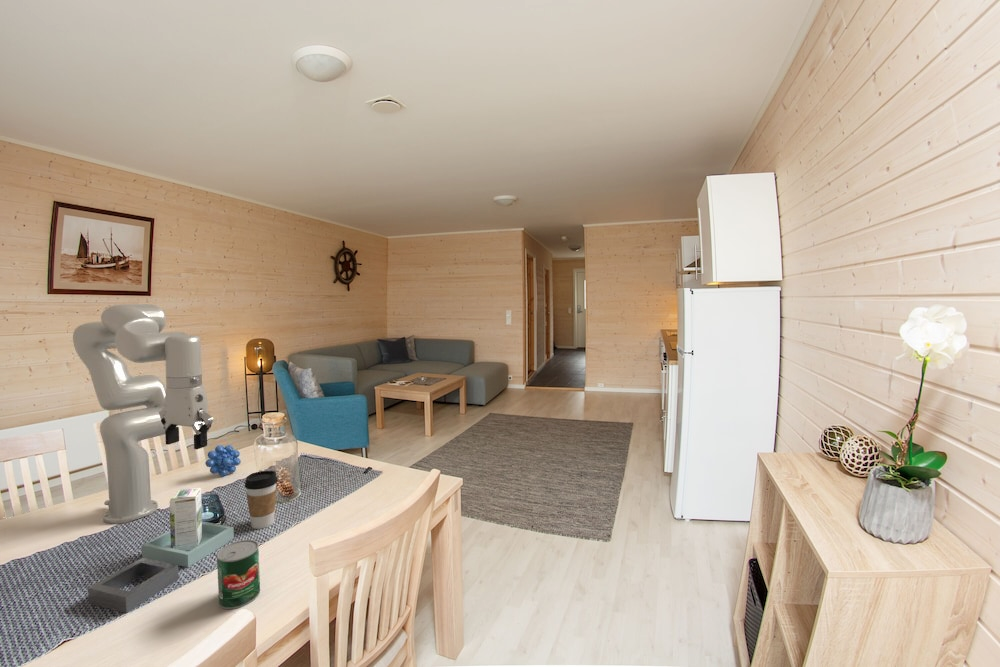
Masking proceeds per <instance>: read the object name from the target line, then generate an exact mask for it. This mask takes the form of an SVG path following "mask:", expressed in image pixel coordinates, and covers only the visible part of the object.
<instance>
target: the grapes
mask: <svg viewBox="0 0 1000 667" xmlns="http://www.w3.org/2000/svg"><path fill="white" fill-rule="evenodd" d="M207 457H208V459H206V460H205V465H206V467H207V468H209V472H210V473H211V474H212V475H216V474H217V475H219V476H220V477H225V476H227V475H228V473H230V474H231V473H232V474H233V473H235V472H236V471H237V466H240V465H241V462H242V461H241V458H239V457H240V452H239V450H238V449H236V450H234V447H233V445H232V444H231V445H230V444H229V445H225V446H223V445H217V446H216V447H215V448H214V450H211V451H209V452H208V453H207Z"/></svg>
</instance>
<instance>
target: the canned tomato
mask: <svg viewBox="0 0 1000 667" xmlns="http://www.w3.org/2000/svg"><path fill="white" fill-rule="evenodd" d="M259 547H260V546H259V542H258V541H256V540H253V539H244V540H238V541H234V542H231V543H229V544H227V545H225V546H222V547H221V549H219V550H218V552H217V554H216V565H217V566H216V567H217V585H218V586H217V587H218V588H217V589H218V590H217V591H218V605H219V607H220V608H222V609H224V610H235V609H239V608H242V607H244V606H246V605H248V604H250V603H252V602H253V601H255V600H256V599H257V598H258V597H259V595H260V593H261V586H260V585H261V582H260V580H261V578H260V576H261V575H260V554H259V553H260V552H259V550H260V549H259Z"/></svg>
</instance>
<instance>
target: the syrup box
mask: <svg viewBox="0 0 1000 667" xmlns="http://www.w3.org/2000/svg"><path fill="white" fill-rule="evenodd" d="M202 510H203V504H202V488H201V487H193V488H185V489H179V490H176V491H175V493H174V494H173V495H172V496H171V498H170V500H169V525H170V529H169V530H170V534H171V548H173V549H178V550H183V551H188V550H192V549H194V548H196V547H197V546H199V544H200V541H201V539H202V521H203V513H202V512H203V511H202Z"/></svg>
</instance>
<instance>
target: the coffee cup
mask: <svg viewBox="0 0 1000 667" xmlns="http://www.w3.org/2000/svg"><path fill="white" fill-rule="evenodd" d="M277 484H278V476H277V472H276V471H275V470H261V471H257V472H253V473H250V474H249V475H247V476H246V478H245V482H244V488H245V489H246V499H247V500H246V501H247V506H248V513H249V514H248V515H249V519H250V526H251V528H252V529H255V530H259V529H265V528H268V527H270V526H272V525H273V524H274V522H275V514H276V513H275V512H276V502H277V501H276V500H277Z"/></svg>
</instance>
